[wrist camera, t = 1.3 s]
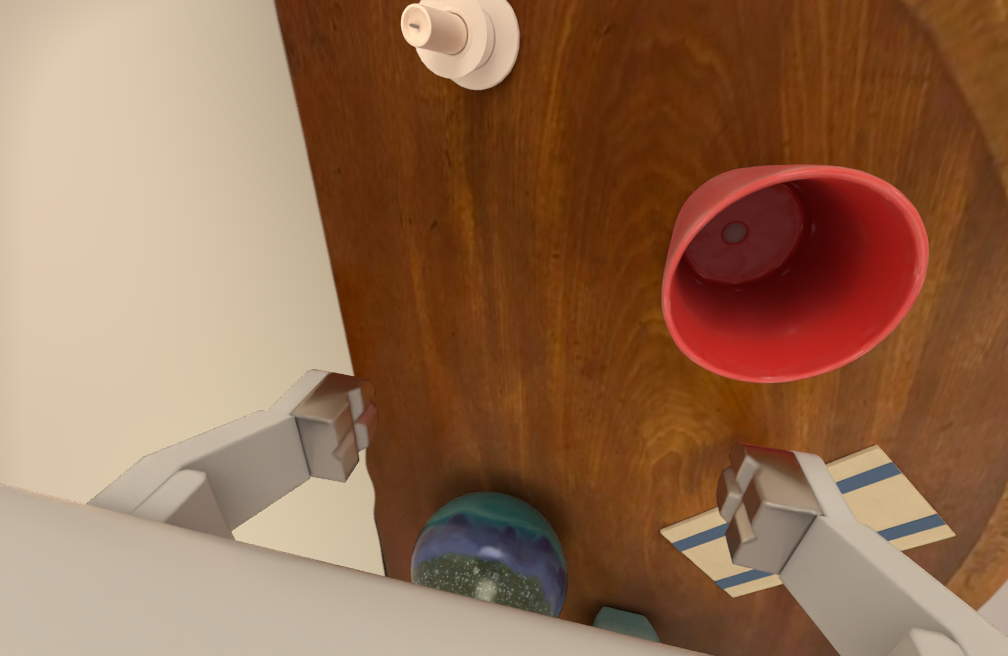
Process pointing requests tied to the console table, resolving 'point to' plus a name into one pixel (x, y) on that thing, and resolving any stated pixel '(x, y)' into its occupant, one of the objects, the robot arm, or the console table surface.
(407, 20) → the candle
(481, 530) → the vase
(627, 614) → the flower pot
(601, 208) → the console table surface
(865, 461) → the cloth
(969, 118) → the console table surface
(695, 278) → the flower pot
